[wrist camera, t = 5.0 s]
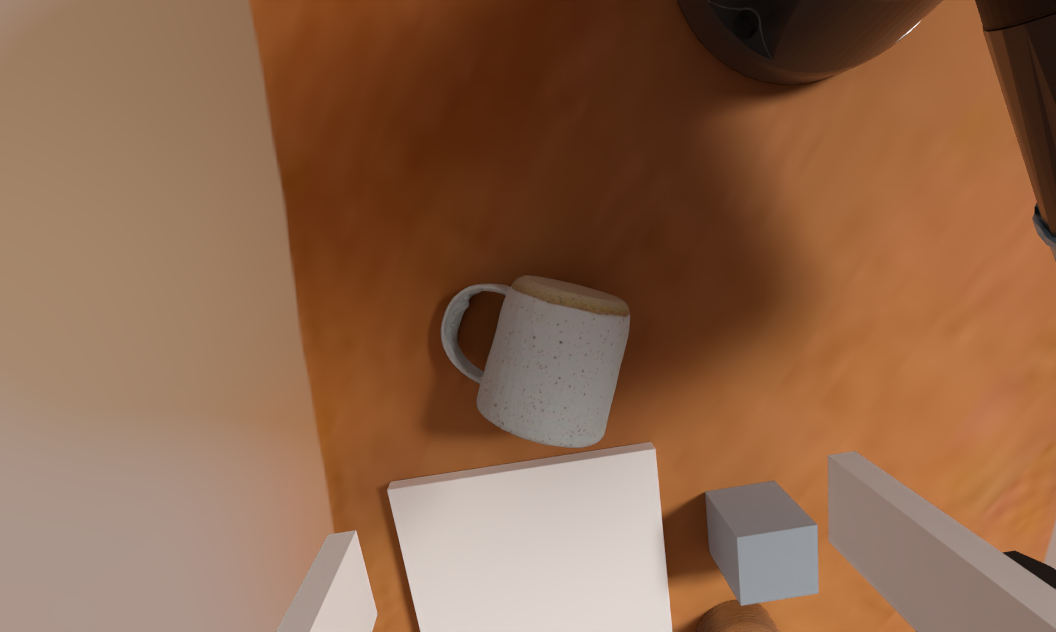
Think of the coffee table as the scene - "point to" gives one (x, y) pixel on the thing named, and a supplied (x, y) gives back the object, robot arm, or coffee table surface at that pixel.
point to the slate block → (762, 542)
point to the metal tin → (737, 619)
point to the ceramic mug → (546, 359)
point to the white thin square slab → (538, 545)
